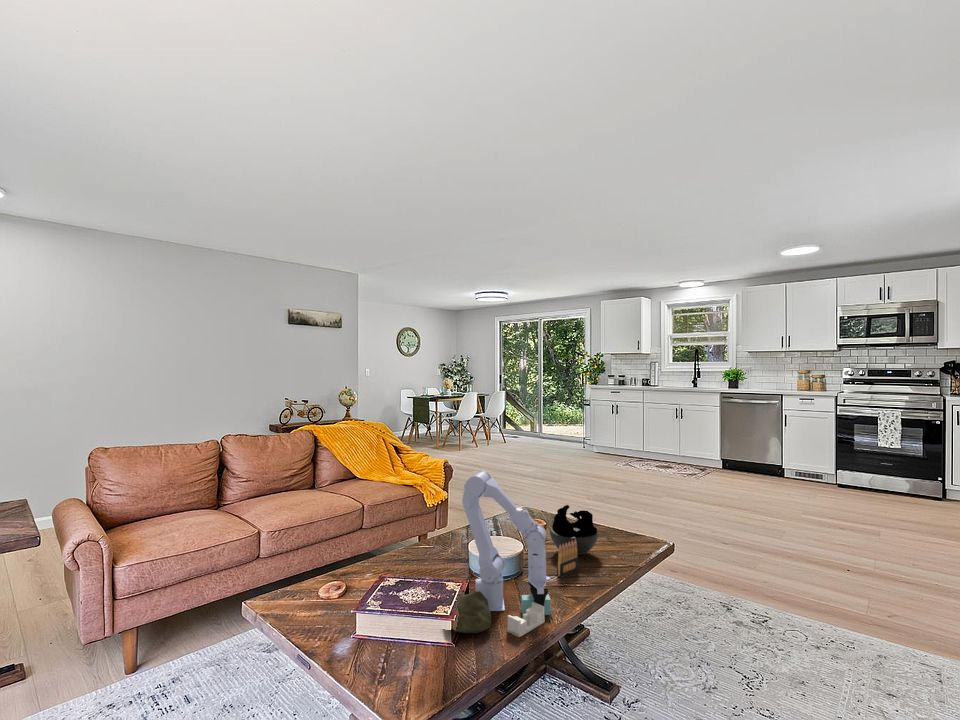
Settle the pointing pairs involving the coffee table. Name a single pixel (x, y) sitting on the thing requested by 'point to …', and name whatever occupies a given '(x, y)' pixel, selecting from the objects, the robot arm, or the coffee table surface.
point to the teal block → (528, 599)
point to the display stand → (526, 620)
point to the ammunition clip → (567, 559)
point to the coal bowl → (574, 530)
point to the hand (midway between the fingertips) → (538, 606)
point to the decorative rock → (473, 613)
